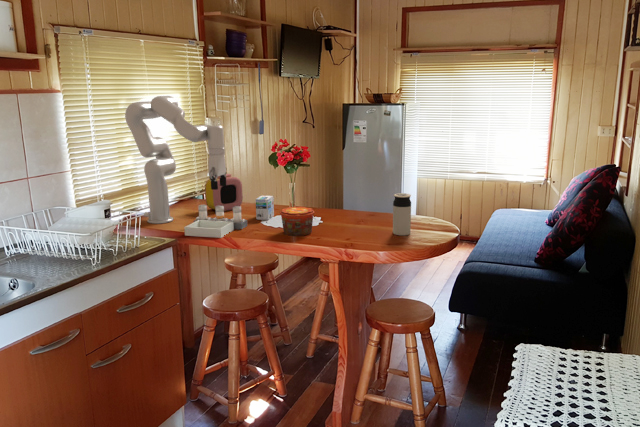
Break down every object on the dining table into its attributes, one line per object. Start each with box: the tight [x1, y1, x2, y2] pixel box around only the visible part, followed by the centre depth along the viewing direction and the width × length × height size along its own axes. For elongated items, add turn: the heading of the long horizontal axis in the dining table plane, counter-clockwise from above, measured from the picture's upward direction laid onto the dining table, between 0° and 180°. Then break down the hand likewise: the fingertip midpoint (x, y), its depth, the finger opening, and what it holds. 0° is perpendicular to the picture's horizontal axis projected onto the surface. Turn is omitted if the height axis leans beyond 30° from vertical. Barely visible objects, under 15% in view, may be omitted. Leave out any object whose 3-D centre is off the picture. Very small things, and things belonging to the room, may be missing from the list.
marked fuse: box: [214, 206, 225, 221], centre depth 262 cm, size 4×4×10 cm
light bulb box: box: [255, 195, 275, 221], centre depth 279 cm, size 11×7×11 cm, turn 168°
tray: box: [183, 220, 235, 239], centre depth 252 cm, size 18×14×4 cm
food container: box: [279, 206, 315, 237], centre depth 250 cm, size 16×16×11 cm
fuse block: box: [193, 216, 248, 230], centre depth 263 cm, size 25×7×4 cm, turn 76°
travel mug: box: [392, 192, 412, 236], centre depth 245 cm, size 8×8×18 cm
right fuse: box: [232, 206, 243, 223], centre depth 260 cm, size 4×4×10 cm
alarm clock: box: [204, 173, 244, 212], centre depth 299 cm, size 18×11×19 cm, turn 132°
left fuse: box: [197, 204, 208, 220], centre depth 265 cm, size 4×4×10 cm
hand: (219, 187), depth 259 cm, fingers open, 9 cm apart
